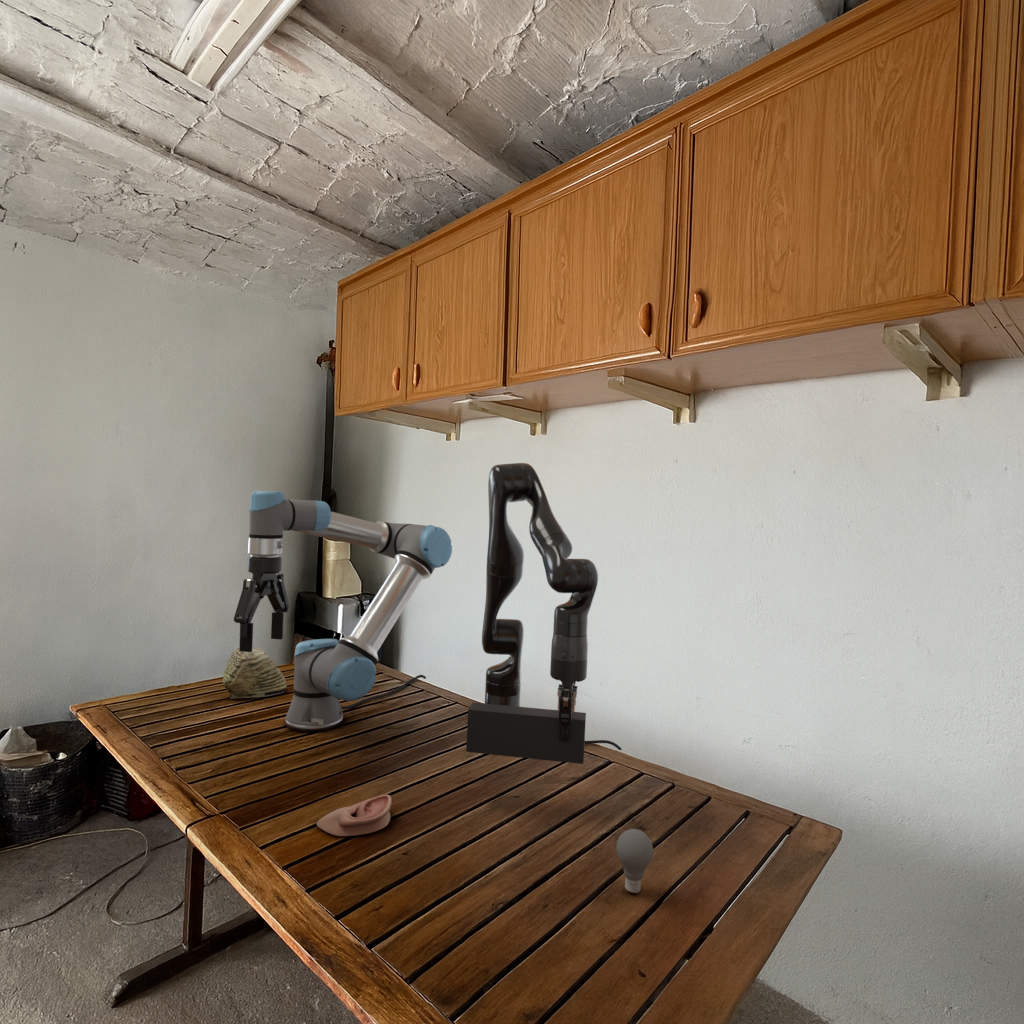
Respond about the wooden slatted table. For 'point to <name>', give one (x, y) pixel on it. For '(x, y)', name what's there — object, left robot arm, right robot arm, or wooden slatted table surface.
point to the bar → (524, 733)
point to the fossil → (252, 675)
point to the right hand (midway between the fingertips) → (565, 736)
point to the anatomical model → (358, 817)
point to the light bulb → (634, 857)
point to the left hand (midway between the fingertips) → (261, 645)
